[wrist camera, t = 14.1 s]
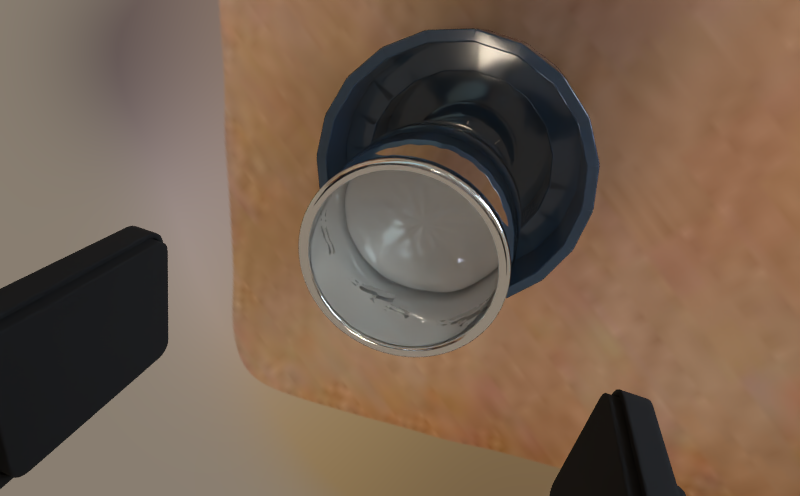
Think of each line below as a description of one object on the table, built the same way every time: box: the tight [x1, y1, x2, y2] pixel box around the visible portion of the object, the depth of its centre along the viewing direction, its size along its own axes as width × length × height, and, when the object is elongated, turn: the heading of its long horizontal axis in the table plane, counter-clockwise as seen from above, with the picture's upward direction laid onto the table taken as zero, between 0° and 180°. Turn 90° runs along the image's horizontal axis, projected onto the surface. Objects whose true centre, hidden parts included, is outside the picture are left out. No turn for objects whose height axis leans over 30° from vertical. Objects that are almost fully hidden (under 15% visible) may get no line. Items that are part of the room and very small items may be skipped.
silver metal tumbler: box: [299, 102, 521, 357], centre depth 21 cm, size 7×7×15 cm
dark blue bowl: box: [317, 28, 600, 298], centre depth 25 cm, size 13×13×6 cm
